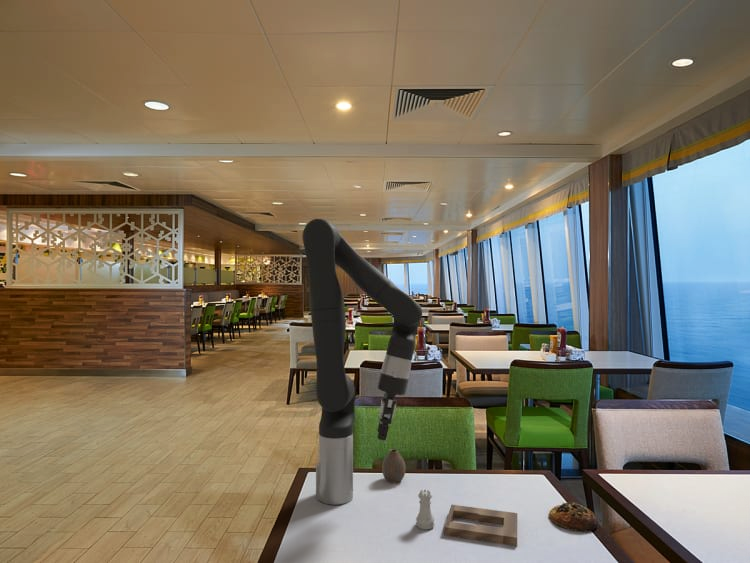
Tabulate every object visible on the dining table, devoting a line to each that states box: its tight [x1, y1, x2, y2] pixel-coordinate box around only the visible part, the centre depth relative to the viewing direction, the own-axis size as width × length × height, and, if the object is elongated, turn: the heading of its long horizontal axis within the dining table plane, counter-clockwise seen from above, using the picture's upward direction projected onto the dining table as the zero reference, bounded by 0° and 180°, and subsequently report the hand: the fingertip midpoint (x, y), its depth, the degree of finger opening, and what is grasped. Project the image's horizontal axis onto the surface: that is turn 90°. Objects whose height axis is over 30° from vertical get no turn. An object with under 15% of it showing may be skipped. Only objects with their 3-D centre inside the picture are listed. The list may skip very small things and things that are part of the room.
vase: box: [381, 448, 407, 484], centre depth 139 cm, size 7×7×9 cm
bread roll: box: [547, 502, 598, 533], centre depth 115 cm, size 11×11×5 cm
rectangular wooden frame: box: [443, 504, 518, 547], centre depth 111 cm, size 16×12×2 cm
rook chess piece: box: [415, 489, 435, 531], centre depth 112 cm, size 4×4×8 cm
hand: (381, 436), depth 122 cm, fingers open, 8 cm apart
